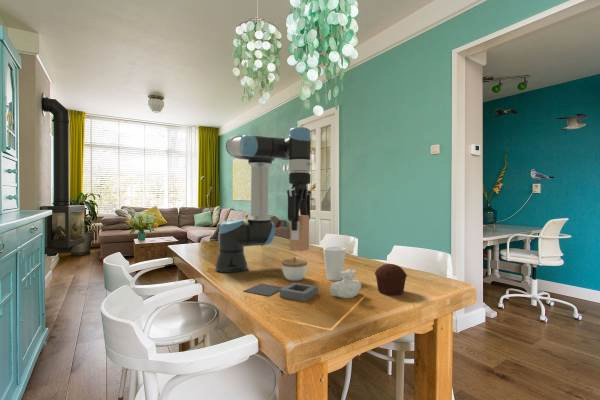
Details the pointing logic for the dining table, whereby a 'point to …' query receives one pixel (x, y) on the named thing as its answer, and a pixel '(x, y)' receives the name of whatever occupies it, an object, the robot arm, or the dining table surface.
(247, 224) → the robot arm
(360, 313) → the dining table surface
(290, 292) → the holder
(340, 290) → the bust
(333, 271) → the foam cup
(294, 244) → the block
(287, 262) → the lidded jar
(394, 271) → the muffin
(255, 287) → the mat
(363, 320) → the dining table surface
